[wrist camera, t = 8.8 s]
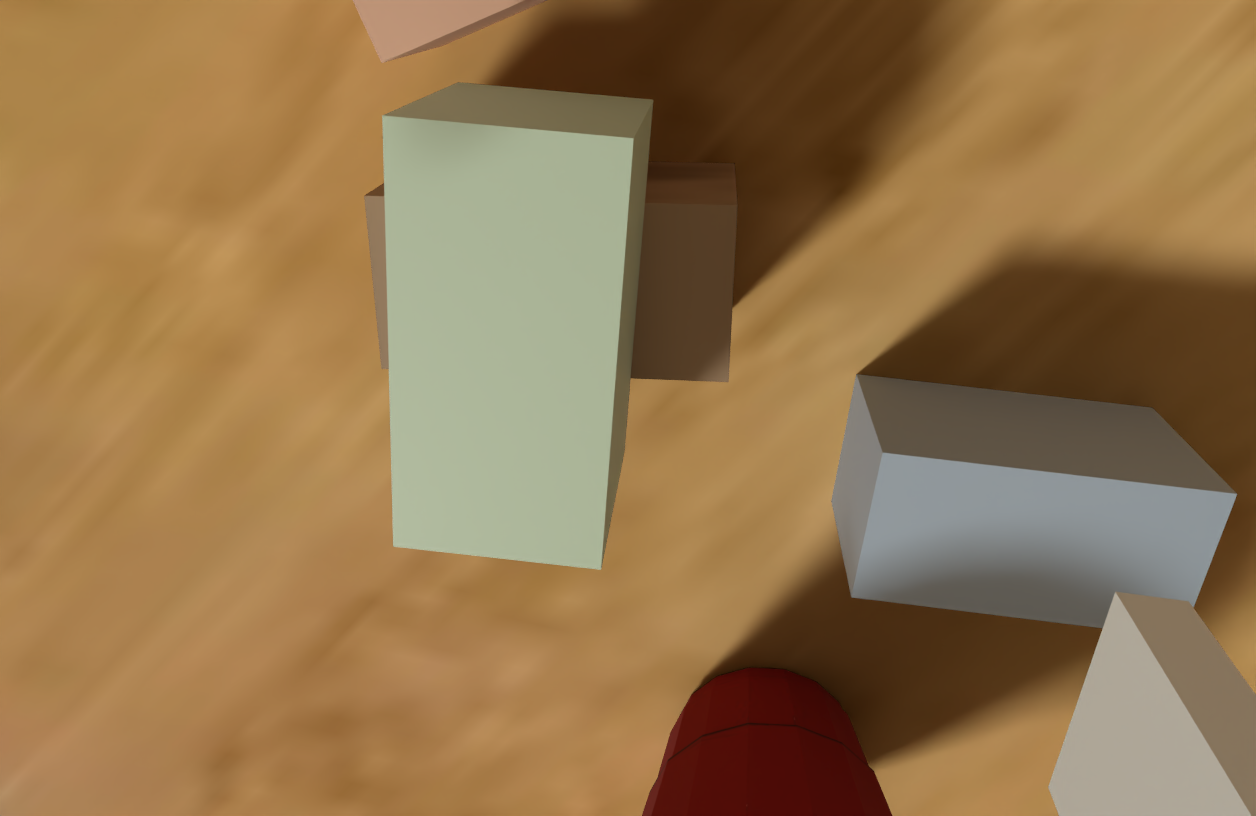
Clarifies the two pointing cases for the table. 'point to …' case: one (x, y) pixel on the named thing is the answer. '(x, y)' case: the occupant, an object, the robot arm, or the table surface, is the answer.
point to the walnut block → (653, 272)
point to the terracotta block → (429, 22)
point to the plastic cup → (764, 753)
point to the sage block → (511, 316)
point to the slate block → (1019, 502)
